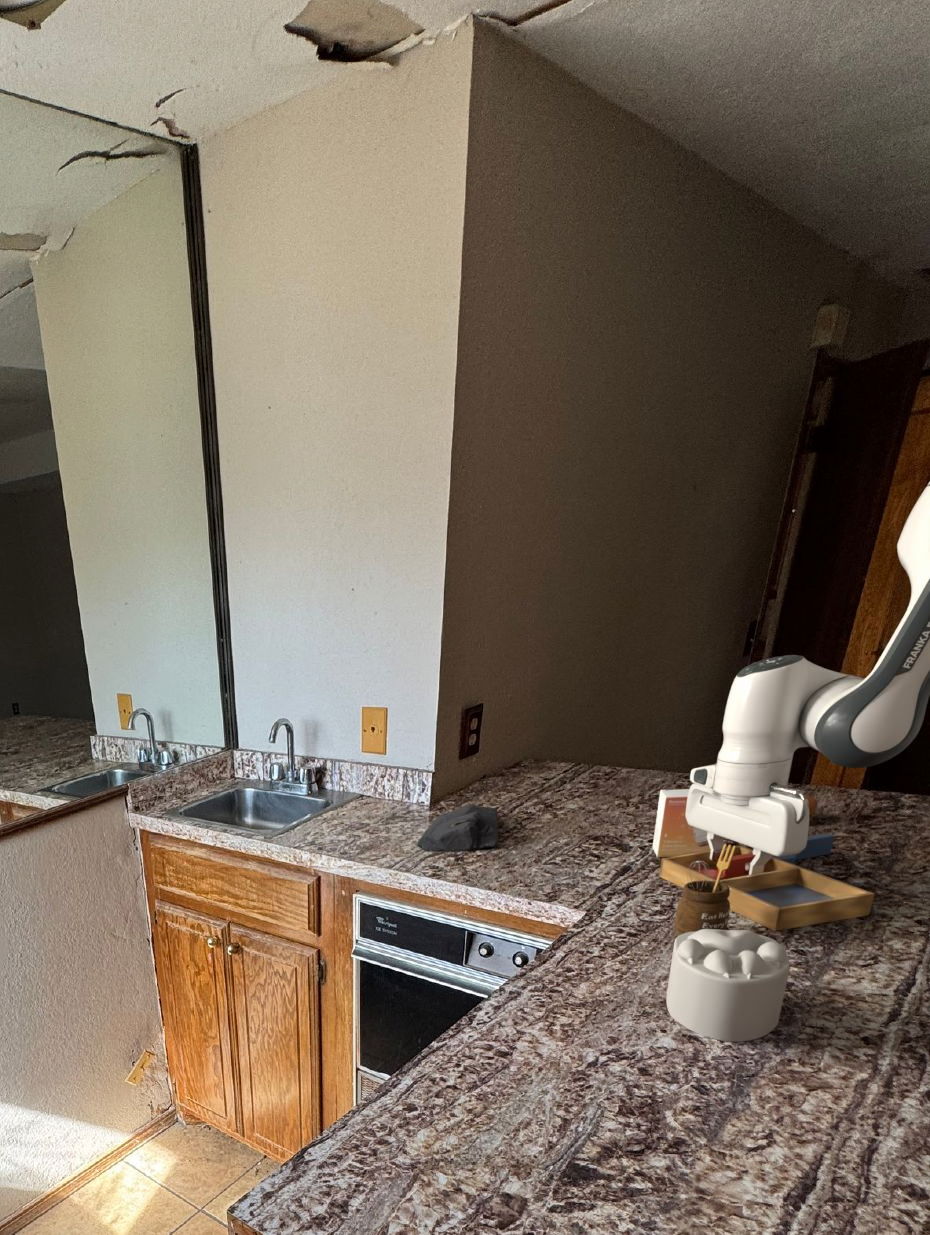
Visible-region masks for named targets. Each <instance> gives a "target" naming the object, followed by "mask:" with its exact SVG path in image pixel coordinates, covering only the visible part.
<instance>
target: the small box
mask: <svg viewBox="0 0 930 1235" xmlns="http://www.w3.org/2000/svg"><path fill="white" fill-rule="evenodd" d="M689 789H690V788H681V789H680V788H679V789H660V791H659V797H658V804H657V812H656V821H655V826H654V834H653V841H652V849H653V851H654V853H655V856H656V858H669V857H675V856H680V855H686V854H692V853H698V852H704V851H710V850H711V849H710V846H709V843H708V840H707V833H708V832H707V831H704V830H702V829H699V828H696V827H693V826H690V825H689V824H688V822H687V820H686V804H687V798H688V792H689Z"/></svg>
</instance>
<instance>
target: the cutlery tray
mask: <svg viewBox="0 0 930 1235" xmlns="http://www.w3.org/2000/svg"><path fill="white" fill-rule="evenodd" d="M735 846H736V848H735V851H734V854H733V856H736V855H742V854H748V853H753V850H754V849H753V848H749V847H747V846H745V845H742V844H741V845H735ZM732 848H733V846H731V848H730V852H729V855H728V857H730V854H731V851H732ZM727 849H728V847H726V850H727ZM710 853H711V850H710V851H704V852H698V853H692V854H686V855H680V856H675V857H662V858H661V859H660V860H661V861H660V868H659V875H658V877H659V878H661V879H663V880H666V881H667V882H669V883H671V884H674V885H676V886H678V887H680V888H682V889H683V888H684V886H685V884H687V883H688V881H689V882H693V881H699V873H698V872H696V870H699V868H700V870H704V869H708V866H709V870H717V871H718V867H717V863H718V862H715V861H712V860H710ZM694 861H702V862H701V863H700V862H699V863H698V862H695V863H694ZM692 862H693V864H692V865H691V863H692ZM704 862H705V866H704V865H703V864H704ZM702 863H703V864H702ZM706 863H707V864H706ZM690 865H691V867H689V866H690ZM694 865H695V866H694ZM705 867H706V868H705ZM688 868H689V869H688ZM692 869H693V870H692ZM690 878H692V880H690ZM701 880H706V876H705V878H704V875H703V874H701V873H700V881H701ZM707 881H716V880H715V879H712V878H710V877H709V879H708V876H707ZM720 882H721V883H724V884H726V885H727V886H729V890H730V895H729V897H728V898H727V899H728V900H729V902H730V911H731V912H733V913H735V914H738V915H739V916H742V917H744V918H746V919H748V920H750V921H752V922H755V923H756V924H759V925H761V926H763V927H765V928H767V929H770V930H771V931H773V932H776V931H783V930H790V929H796V928H802V927H807V926H813V925H819V924H824V923H830V922H836V921H837V922H838V921H843V920H848V919H854V918H860V917H861V918H862V917H866V916H870V913H871V909H872V905H873V902H874V898H875V893H874V892H871V891H868V890H865V889H863V888H860V887H857V886H854V885H852V884H848V883H847V882H843V881H841V880H838V879H834V878H832V877H830V876H827V875H824V874H822V873H819V872H815V871H813V870H810V869H808V868H805V867H802V866H799V865H796V864H794V863H793V864H791V863H788V862H785V861H782V860H780V859H777V858H774V857H771V858H770V859H769V861H768V862H767V863H766V864H765V865H764V870H763V873H759V874H753V875H747V876H741V877H735V878H729V879H724V880H720Z"/></svg>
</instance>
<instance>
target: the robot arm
mask: <svg viewBox="0 0 930 1235" xmlns="http://www.w3.org/2000/svg"><path fill="white" fill-rule="evenodd" d="M896 549H897V551H896V552H897V556H898V560H899V562H900V564H901V566H902V568H903V569H904V570H905V572H906V574H907V576H908V578H909V582H910V587H911V589H910V590H911V593H910V599H909V603H908V606H907V608H906V611H905V613H904V615H903V617H902V618H901V620H900V622H899V624H898V626H897V627H896V629H895V630H894V633H893V634H892V636H891V638H890V639H889V641H888V643H887V644H886V646H885V648H884V649H883V652H882V654H881V655H880V657H879V658H878V660H877V662H876V664H875V665H874V667H873V669H872V670H871V672H870V673H869V674H868V675H867V676H866V677H865V678H864V677H861V676H857V675H852V674H848V673H842V672H838V671H834V670H831V669H827V668H826V667H825V668H824V667H822V666H819V665H817V664H815V663H813V662H811V661H809V660H807V659H806V658H805V657H804V656H803V655H797V654H785V655H781V656H773V657H768V658H765V659H761V660H758V661H754V662H753V663H751V664H749V665H747V666H745V667H743V668H742V669H741V670H740V671H739V672H738V673H737V674H736V676H735V677H734V678H733V681H732V684H731V687H730V690H729V693H728V696H727V701H726V705H725V709H724V715H723V722H722V726H721V727H722V729H721V730H722V734H723V741H722V745H721V747H720V750H719V751H718V754H717V759H716V762H715V763H713V764H708V765H703V766H699V767H694V768H692V769H691V771H690V775H689V780H690V782H691V783H692V784H690V787H689V788H688V789H689V792H688V798H687V804H686V820H687V822H688V824H689V825H690V826H693V827H696V828H699V829H702V830H704V831H707V832H708V833H707V840H708V843H709V846H710V849H711V853H710V860H712V861H715V862H718V860H719V857H720V855H721V852H722V849H723V846H724V844H725V839H727V840H730V841H733V842H736V843H739V844H741V845H743V846H746V847H748V848H749V847H750V848H751V849H752V850H753V855H756V856H755V857H754V859H753V860H752V862H750V863H746V865H745V870H744V873H745V874H747V875H753V874H759V873H763V870H764V865H765V864H766V863H767V862H768V861H769V859H770V858H771V857H772V856H773V855H775V856H778V857H782V856H789V855H794V854H798V853H800V852H801V851H802V850H804V849H805V847H806V844H807V838H808V836H809V828H810V820H809V807H808V800H807V799H806V797H805V796H804V795H805V794H804V793H803V791H802V789H799V788H797V787H789V786H788V783H789V779H790V773H791V769H792V765H793V764H792V763H793V758H794V753H795V752H796V751H797V749H801V748H812V749H814V750H815V751H818V752H819V753H821V754H822V755H823V756H824V757H825V758H827V759H828V760H829V761H831V763H834V765H835V764H836V765H838V766H840V767H842V768H843V767H844V768H849V769H862V768H870V767H874V766H876V765H880V764H882V763H886V761H889V760H891V759H892V758H894V757H896V756H897V755H899V754H901V753H902V752H904V750H905V749H906V748H908V747H909V745H910V744H911V743H912V742H913V741H914V740H915V739H916V737H917V736H918V734H919V732H920V730H921V728H922V725H923V722H924V719H925V715H926V710H927V705H928V701H929V698H930V481H929V482H928V483H927V485H926V487H925V488H924V490H923V491H922V493H921V495H920V496H919V497H918V499H917V501H916V503H915V504H914V506H913V508H912V509H911V511H910V513H909V515H908V516H907V519H906V520H905V523H904V525H903V528H902V530H901V533H900V536H899V538H898V541H897V544H896ZM800 797H801V798H800ZM726 851H727V850H726V849H725V852H724V855H723V858H724V857H725V854H726Z"/></svg>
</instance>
